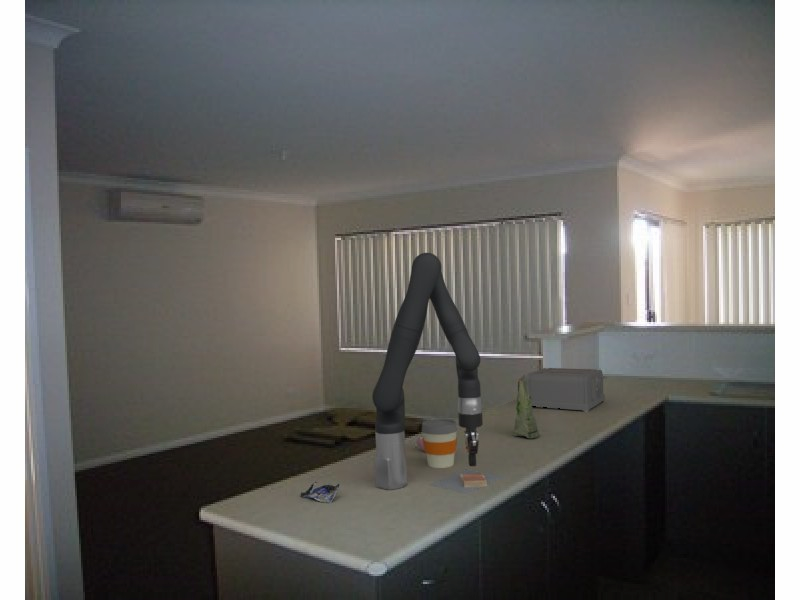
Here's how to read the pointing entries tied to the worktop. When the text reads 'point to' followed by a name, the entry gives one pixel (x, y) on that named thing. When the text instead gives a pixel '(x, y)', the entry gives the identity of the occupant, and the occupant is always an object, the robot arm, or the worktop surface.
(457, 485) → the rubber mat
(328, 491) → the snack package
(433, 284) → the robot arm
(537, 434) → the green rock spire
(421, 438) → the video game controller
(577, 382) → the toaster
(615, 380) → the worktop surface
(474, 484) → the birch tile
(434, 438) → the reusable coffee cup
